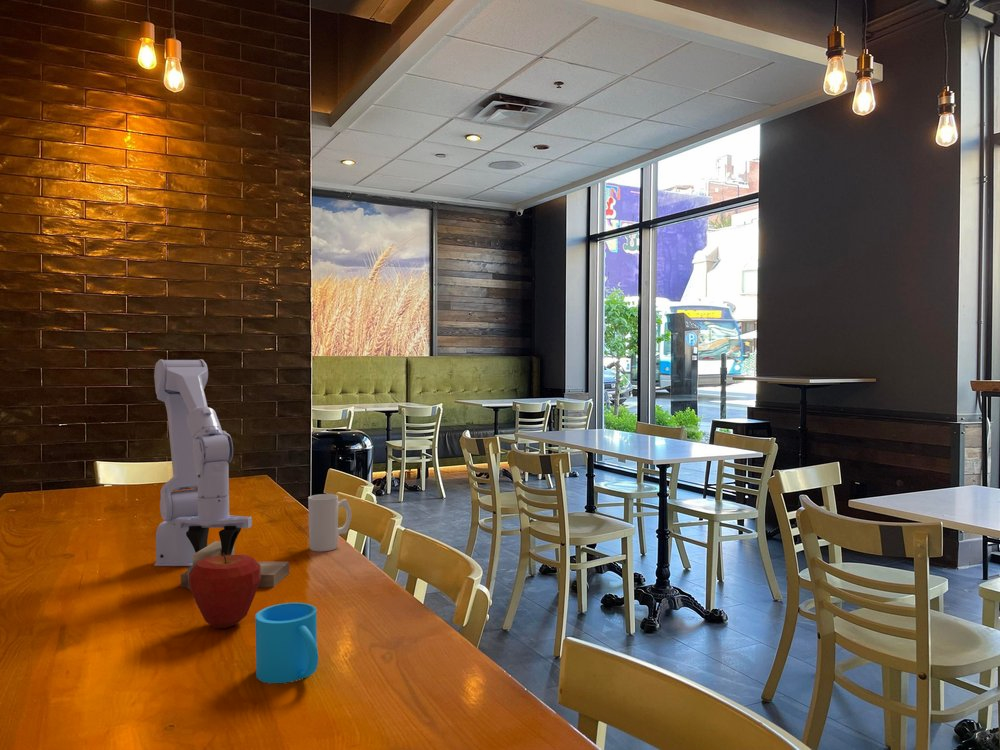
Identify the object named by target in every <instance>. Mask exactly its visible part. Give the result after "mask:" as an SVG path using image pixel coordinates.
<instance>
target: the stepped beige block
mask: <svg viewBox="0 0 1000 750" xmlns="http://www.w3.org/2000/svg"><path fill="white" fill-rule="evenodd" d="M235 551H236V550H235V544H234V546H233V550H232V553H231V555H236V553H235ZM216 556H222V548H221V541H220V540H216V541H213V542H211V543H210V544H207V546H206V547H205V548H203V549H201V550H200V551H198V552H196V553H195V554H193V565H192V566H188V568H187V571H188V587H187V590H191V589H190V587H189V573H190V571H191V570H192V569H193V567H194V566H195V565H196V564H197V563H198V562H199V561H201V560H202V559H204V558H210V557H216Z"/></svg>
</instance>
